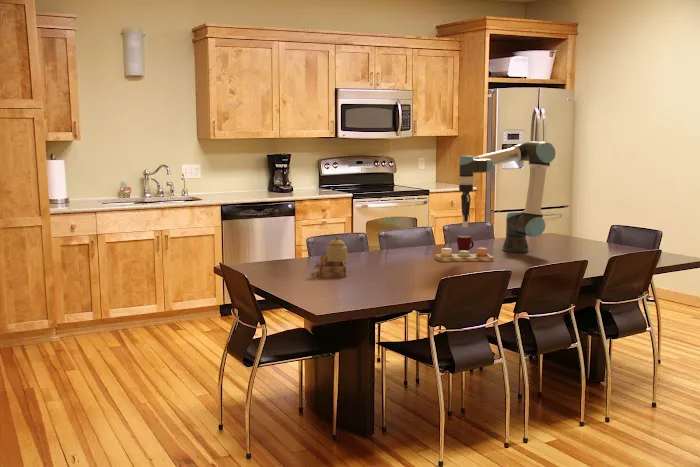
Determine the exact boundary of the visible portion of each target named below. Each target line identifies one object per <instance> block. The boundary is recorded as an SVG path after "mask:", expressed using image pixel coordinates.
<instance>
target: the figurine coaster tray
mask: <svg viewBox="0 0 700 467" xmlns="http://www.w3.org/2000/svg"><path fill="white" fill-rule="evenodd" d="M321 263H322V261H321V260H319V261H318V272H319V277H320V278H345V277H347V266H346V263H344V261H327V262H326V267H322V266H321Z"/></svg>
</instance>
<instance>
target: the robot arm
mask: <svg viewBox="0 0 700 467" xmlns="http://www.w3.org/2000/svg"><path fill="white" fill-rule="evenodd" d="M555 158H556V148H555V147H554V146H553V144H552V143H551V142H547V141H541V140H540V141H539V140H538V141H535V140H532V141H531V140H530V141H526V142H521V143H518V144H515V145H512V147H510V148H506V149H500V150H498V151H493V152H489V153H483V154H479V155H475V156H473V155H461V156H460V157H459V164H458V165H459V177H458V179H457V180H458V181H459V185H458V191H459V192H460V193H461V192H462V194H461V195H460V199H461V200H460V201H461V215H462V228H469V215H470V210H471V209H470V208H471V207H470V206H471V200H472V198H471V195H470V192H473V191H474V185H473V184H474V174H477V173H478V174H482V173H485V174H486V173H491V172H492V171H493V169H494V167H495V166H499V165H501V164H506V163H510V162H517V163H518V162H528V166H530V173H529V179H528V187H527V194H526V203H525V208H524V210H523V211H514V212H510V211H509V212H508V213H507V214H506V218H505V219H506V220H505V221H506V226H505V230H506V231H505V239H504V242H503V244H502V251H504V252H508V253H528V252H529V250H530V249H529V244H528V240H527V237H530V238H537V237H539V236H541V235H542V234H543V233H544V232H545V229H546V225H547V224H546V221H545V219H544V218H543V217H544V213H543V212H542V211H541V210H542V203H543V197H544V190H545V189H544V188H545V182H546V175H547V169H549V167H551V163H552V162H553V160H555Z"/></svg>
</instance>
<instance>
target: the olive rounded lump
mask: <svg viewBox="0 0 700 467" xmlns="http://www.w3.org/2000/svg"><path fill="white" fill-rule="evenodd" d="M458 254H459V257H469V254H470V250H469V251H465V250H462V251H459V250H458Z"/></svg>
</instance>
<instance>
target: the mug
mask: <svg viewBox="0 0 700 467" xmlns="http://www.w3.org/2000/svg"><path fill="white" fill-rule="evenodd" d="M456 241H457V249H458V252H459V251H462V250H465V251H469V252H470V250H471V249H472V248H474V246H475V245H474V241H473V240H472V236H470V235H458V236H456Z"/></svg>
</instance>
